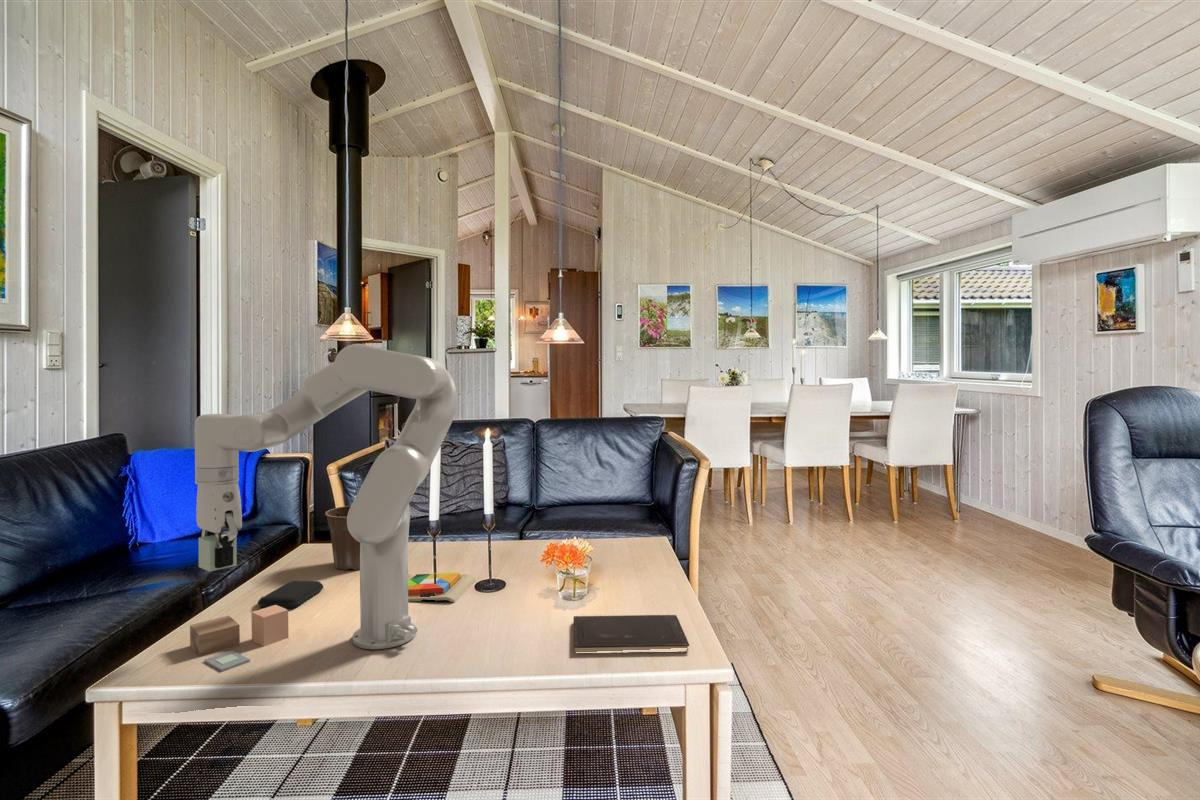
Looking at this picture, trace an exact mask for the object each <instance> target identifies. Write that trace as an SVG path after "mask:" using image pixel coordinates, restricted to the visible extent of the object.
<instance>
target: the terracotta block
mask: <svg viewBox="0 0 1200 800" xmlns="http://www.w3.org/2000/svg"><path fill="white" fill-rule="evenodd" d="M289 638H290V637H289V610H287V609H285V608H282V607H280V606H277V605H273V606H270V607H267V608H261V609H258V610H254V611H251V642H253V643H254V642H255V643H256V644H258V645H261V646H262V647H266V646H269V645H272V644H276V643H278V642H281V641H284V640H286V639H289Z"/></svg>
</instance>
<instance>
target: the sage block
mask: <svg viewBox="0 0 1200 800" xmlns="http://www.w3.org/2000/svg"><path fill="white" fill-rule="evenodd" d="M224 536H226V534H225V535H221V539H223V537H224ZM237 542H238V541H237V536H236V537H235V540H234V546H233V565H231V566H226V567H222V568H215V548H217V543H216V535H210V536H205V537H201V536H200V537H198V568H200V569H203V570H205V571H208V572H210V573H211V572H214V571H219V570H223V569H227V568H231V567H236V566H238V562H237V561H238V559H237V558H238V557H237V555H238V554H237V553H238V552H237V551H238V550H237V549H238V546H237V544H238V543H237Z"/></svg>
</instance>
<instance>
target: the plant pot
mask: <svg viewBox="0 0 1200 800" xmlns="http://www.w3.org/2000/svg"><path fill="white" fill-rule="evenodd" d="M351 505H352V504H351ZM351 505H345V506H338V507H335V508H332V509H329V510H327V511H325V513H324V514H325V516H326V518H327V526H328V528H329V532H330V540H331V547H332V549H331V550H332V555H333V556H332V558H333V566H334V568H335V569H338V570H341V571H348V570H350V569H351V570H353V571H357V570H359V571H360V544H361V543H360V542H358V541H357V540H355V539H354V538H353V537H352V535H351V534H350V532H349V530H348V527H347V515H348V512H349V509H350V507H351Z"/></svg>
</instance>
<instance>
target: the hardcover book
mask: <svg viewBox="0 0 1200 800" xmlns="http://www.w3.org/2000/svg"><path fill="white" fill-rule="evenodd" d="M689 647H690V643H689V641H688V638H687V636H686V634H685V631H684V629H683V627H682V625H681V623H680V620H679V618H678V616H677V614H657V615H656V614H644V615H642V614H641V615H640V614H639V615H637V614H636V615H630V614H629V615H575V616H573V649H574V653H575V652H597V651H623V650H650V649H671V648H688V649H689Z"/></svg>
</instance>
